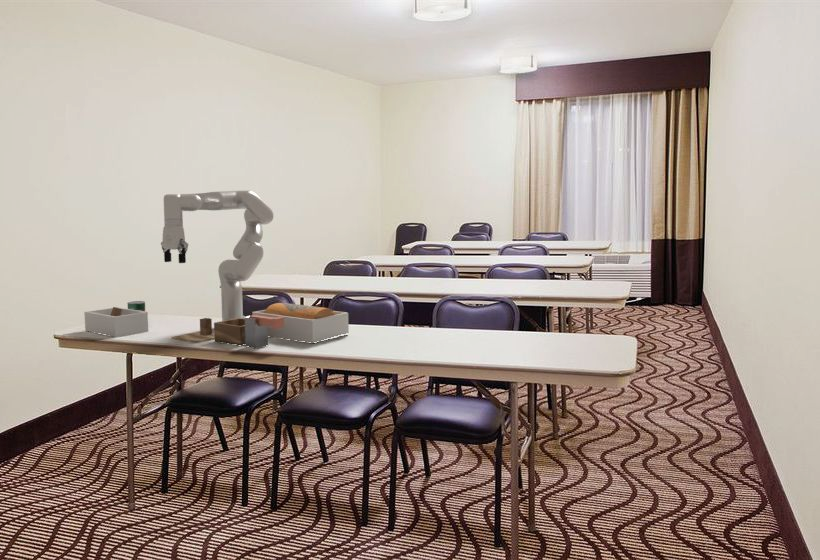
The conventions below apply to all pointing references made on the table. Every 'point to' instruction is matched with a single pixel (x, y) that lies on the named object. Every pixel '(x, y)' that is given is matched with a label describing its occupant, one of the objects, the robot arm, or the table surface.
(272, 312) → the orange brown curved block
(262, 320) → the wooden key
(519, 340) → the table surface
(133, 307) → the canned tomato
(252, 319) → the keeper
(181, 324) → the table surface
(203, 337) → the lid
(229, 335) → the brown open box
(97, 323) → the frame
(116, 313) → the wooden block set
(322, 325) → the frame
